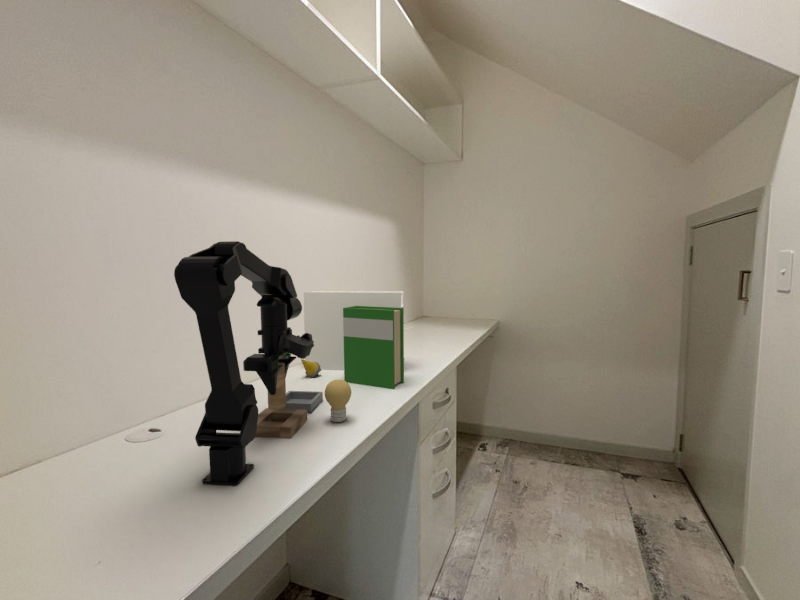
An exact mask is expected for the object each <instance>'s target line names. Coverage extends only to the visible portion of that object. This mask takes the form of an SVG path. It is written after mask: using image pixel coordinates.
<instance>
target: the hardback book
mask: <svg viewBox="0 0 800 600" xmlns="http://www.w3.org/2000/svg"><path fill="white" fill-rule="evenodd" d="M404 317H405V312H404V313H403V308H392V307H371V306H352V307H346V308H343V330H344V371H343V372H344V373H343V374H344V375H343V376H344V381H346V382H347V383H348V384H354V385H361V386H368V387H375V388H381V389H389V390H395V388H396V385H397V384H404V383H405V354H404V353H405V352H404V351H405V349H404V348H405V346H404V343H405V342H404V341H405V339H404V338H405V337H404V335H405V334H404V332H405V331H404V330H405V329H404V328H405V327H404V326H405V325H404V323H405V322H404V321H405V319H404Z"/></svg>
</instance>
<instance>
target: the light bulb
mask: <svg viewBox="0 0 800 600" xmlns="http://www.w3.org/2000/svg"><path fill="white" fill-rule="evenodd" d="M351 396H352V388H351V385H350V383H347V382H346V381H345V380H343V379H334V380H332V381H329V382H328V384H326V387H325V390H324V398H325V400H326V401H327V403H328V404H329V406H330V421H332V422H334V423H342V422H344V421H345V420H346V419H347V407H346V405H347V404H348V403H349V401H350V400H351Z"/></svg>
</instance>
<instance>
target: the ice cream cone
mask: <svg viewBox="0 0 800 600" xmlns="http://www.w3.org/2000/svg"><path fill="white" fill-rule="evenodd" d="M300 361H301V364H302V366H303V368H304V370H305V375H306V376H307V377H308V378H314V377H316V376H317V375H319V373H320V372H321V371H322V370H321V369H320V365H319V364H318V363H317V362H310V361H306V360H305V359H301V358H300Z"/></svg>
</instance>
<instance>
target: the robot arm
mask: <svg viewBox="0 0 800 600" xmlns="http://www.w3.org/2000/svg"><path fill="white" fill-rule="evenodd" d="M173 272H174V273H173V276H174V280H175V283H176V286H177V289H178V292H179V295H180V298H181V299H182V301H183V302H185V303H186V305H188V306H189V308H191V309H192V311H194V313H195V316H196V320H197V326H198V331H199V335H200V339H201V344H202V345H201V346H202V349H203V354H204V359H205V360H204V361H205V364H206V368H207V373H208V379H209V383H210V387H211V388H210V389H211V391H210V392H209V395H208V397H207V399H206V401H205V403H204V410H205V411H204V412H205V413H204V415H203V417H202V420H201V422H200V425H199V427H198V430H197V432H196V434H195V436H194V439H195V442H196V445H197V447H199V448H200V447H209V449H208V452H209V453H208V456H209V457H208V458H209V459H208V460H209V473H208V474H207V475H206V476H204V478H202V479H201V481H202V484H209V485H226V486H228V485H230V486H236V485H238V484H239V483H241V481H242V480H244V478H245V477H246V476H247V475H248V474H249V473H250V472H251V471H252V470H253V469H254V467H255V464H254V463H247V456H246V455H247V454H246V450H247V449H246V447H247V446H248V445H249V444H251V442H252V441H254V440H255V439H256V438H257V437H256V430H257V421H258V414H259V407H258V405H257V404H258V400H257V398H256V397H257V396H256V391H255V390H256V388H255V386H254V385H253V384H252V383H251V384H249V383H248V384H247V383H244V382H243V381H242V377H241V373H240V372H241V371H240V366H239V361H238V356H237V355H238V354H237V350H236V345H235V339H234V334H233V327H232V322H231V316H230V312H229V304H230V302H231V301H232V298H233V296H234V293H235V292H236V284H235V282H236V281H237V279H239V277H241V276H242V277H243V278H245V279H246V280H248V281H250V282H251V284H252V285H251V288H252V289H253V290H254V291H255V292H256V293H257V294H258V295H260V296H261V298H260V299H259V300H258V301H257V303H256V306H257V307H258V308H259V307H260V329H258V330H257V336H261V347H259V348H258V353H253V354H252V355H250V356H247V357H246V358H245V359H244V360H243V361H242V364H243V367H242V368H243V371H244V372H256V374H257V375H258V376H259V378H260V380H261V381H262V383H263V385H264V386H265V388H266V390H267V393H268V392H269V394H270V395H275V393H276V384H277V373H278V371H279V370H280V369H281V368H282V367H283V365H279V362H283V363H285V379H286V377H287V374H288V371H289V367H290V365H291V364H292V363H293V361H295V360H296V359H297V358H298V359H300V360H301V359H303V360H305V358H306V357H307V356H309V355H310V352H311V349H312V347H314V344H313V343H314V341H313V340H312V335H311V334H309V333H305V332H304V333H303V334H302V335H301V336H300V335H295V334H293V329H292V328H291V327H289V326H288V321H290V320H293V319H295V318H298V317H299V316H300V315H301V314H302V311H303V305H302V303H301V300H300V299H299V298H298V294H297V290H296V288H295V284H294V282H293V278H292V275H291V274H290V273H289V271H288V270H287V269H286V268H282V267H279V266H272V265H269V264H267V262H265V261H264V260H262V259H261V258H260V257H259V256H258V255H256V254H254V253H253V252H252V251H251V250H249V249H248V248H247V245H246V244H245V243H244V242H241V241H235V240H234V241H231V240H230V241H218V242H216V243H213V244H212V245H211V246H209V247H208V248H205V249H202V250H200V251H197V252H194V253H192V254H190V255H188V256H184V257H183V258H181V259H180V261H179V262H178V264H176V266H175V268H174V271H173ZM292 355H294V356H292ZM217 431H224V432H217ZM225 431H227V432H225ZM237 432H238V433H237ZM239 432H240V433H239Z"/></svg>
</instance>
